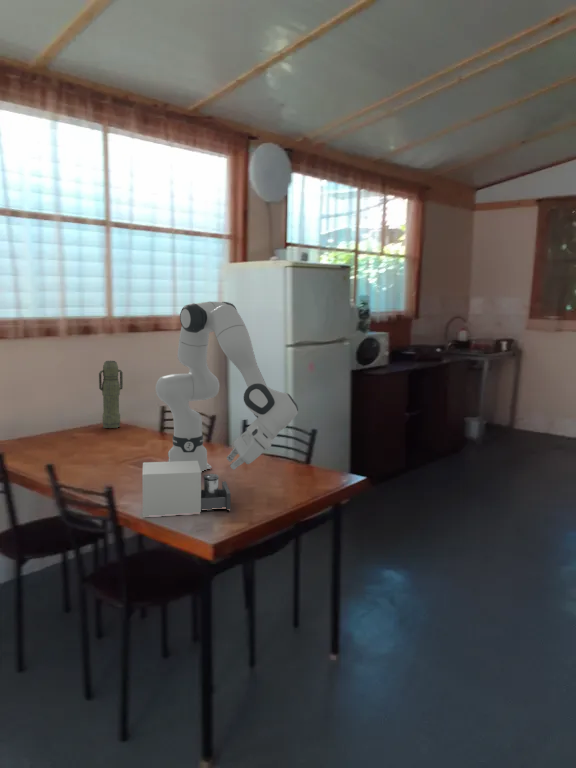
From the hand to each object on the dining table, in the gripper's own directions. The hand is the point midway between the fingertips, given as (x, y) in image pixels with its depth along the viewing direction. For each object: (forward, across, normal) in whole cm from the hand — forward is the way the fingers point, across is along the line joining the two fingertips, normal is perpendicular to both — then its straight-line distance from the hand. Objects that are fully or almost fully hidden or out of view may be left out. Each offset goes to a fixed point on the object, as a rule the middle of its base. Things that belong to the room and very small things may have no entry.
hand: (229, 463), depth 199 cm
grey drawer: (+16, 0, +4) cm, 17 cm away
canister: (+13, 0, +5) cm, 14 cm away
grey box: (+24, 0, -3) cm, 24 cm away
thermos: (+44, -131, -22) cm, 139 cm away
